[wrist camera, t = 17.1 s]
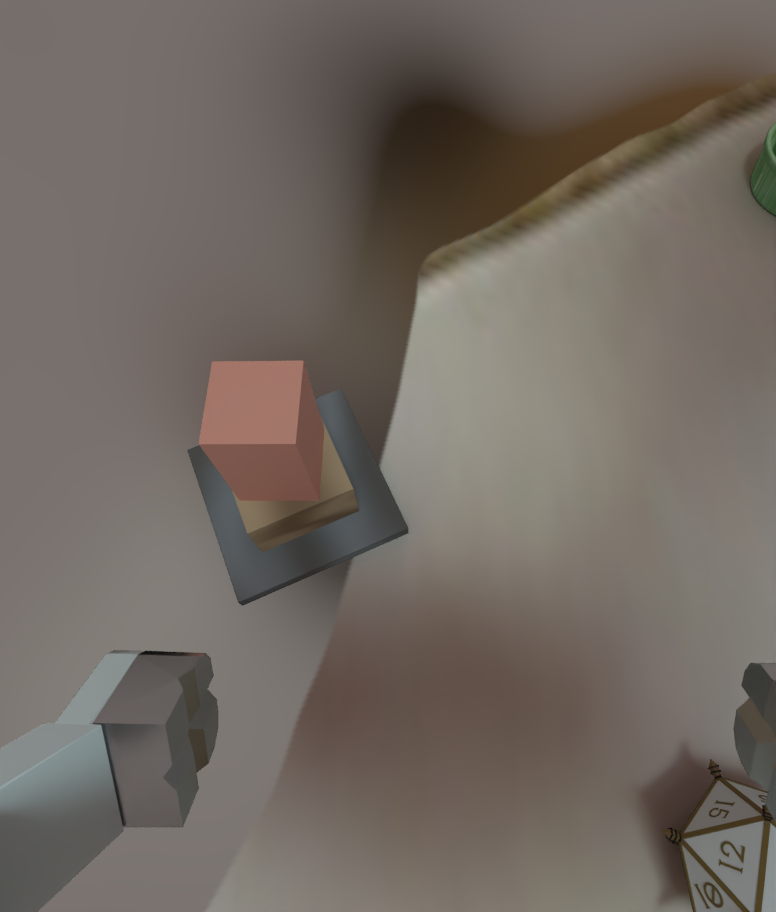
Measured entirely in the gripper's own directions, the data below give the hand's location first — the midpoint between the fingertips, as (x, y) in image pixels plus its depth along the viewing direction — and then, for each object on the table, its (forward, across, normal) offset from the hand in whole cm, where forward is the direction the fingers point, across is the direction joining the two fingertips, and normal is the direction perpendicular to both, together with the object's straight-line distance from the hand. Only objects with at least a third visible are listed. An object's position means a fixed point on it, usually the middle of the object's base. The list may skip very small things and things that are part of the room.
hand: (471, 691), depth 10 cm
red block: (+30, +10, +8) cm, 32 cm away
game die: (+18, -16, +26) cm, 36 cm away
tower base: (+33, +10, +11) cm, 36 cm away
